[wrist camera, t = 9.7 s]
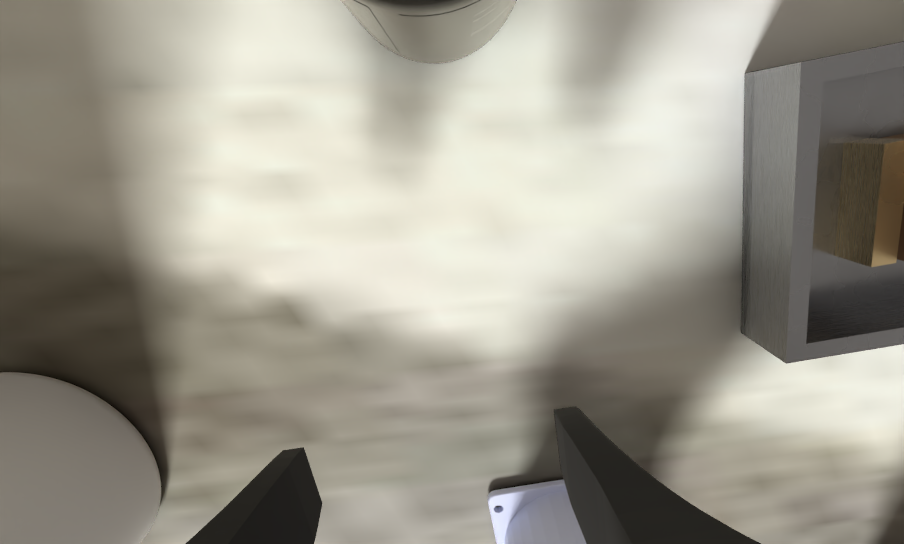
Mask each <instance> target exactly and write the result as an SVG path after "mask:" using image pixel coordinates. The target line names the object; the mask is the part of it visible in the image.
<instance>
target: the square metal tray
mask: <svg viewBox="0 0 904 544" xmlns="http://www.w3.org/2000/svg"><path fill="white" fill-rule="evenodd" d="M899 134H904V42H899V43H894V44H889V45H884V46H879V47H874V48H869V49H864V50H859V51H854V52H849V53H844V54H839V55H834V56H829V57H824V58H819V59H814V60H809V61H804V62H799V63H794V64H789V65H784V66H779V67H774V68H769V69H764V70H759V71H754V72H749V73H745V115H744V185H743V256H742V326H741V333H742V334H744V335H745V336H747V337H748V338H749V339H751V340H752V341H754V342H755V343H757V344H758V345H760V346H761V347H763V348H764V349H766V350H767V351H768V352H770V353H771V354H773V355H774V356H776V357H777V358H779V359H780V360H782V361H783V362H785V363H792V362H798V361H804V360H810V359H816V358H822V357H828V356H834V355H840V354H846V353H852V352H858V351H864V350H870V349H876V348H882V347H888V346H894V345H900V344H904V261H902V260H898V259H897V253H898V245H899V237H900V229H901V221H902V213H903V206H904V139H895V138H883V137H888V136H894V135H899Z"/></svg>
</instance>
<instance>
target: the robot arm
mask: <svg viewBox="0 0 904 544" xmlns="http://www.w3.org/2000/svg"><path fill="white" fill-rule="evenodd" d="M554 415H555V424H556V432H557V441H558V449H559V458H560V466H561V471H562V475H563V479H562V480H556V481H550V482H543V483H537V484H531V485H524V486H518V487H511V488H505V489H499V490H494V491H491V492H490V493H489V494H488V505H489V509H490V514H491V519H492V524H493V529H494V533H495V538H496V543H497V544H761V543H759V542H757V541H755V540H753V539H751V538H749V537H747V536H745V535H743V534H741V533H739V532H738V531H736V530H734V529H732V528H730V527H729V526H727V525H725V524H724V523H722V522H720V521H718V520H717V519H715V518H713V517H711V516H710V515H708V514H706V513H705V512H703V511H701V510H700V509H698V508H696V507H695V506H693V505H692V504H690V503H689V502H687V501H686V500H684V499H683V498H681V497H680V496H678V495H677V494H676V493H674V492H673V491H671V490H670V489H668V488H667V487H666V486H664V485H663V484H662V483H660V482H659V481H658V480H656V479H655V478H654V477H653V476H651V475H650V474H649V473H648V472H646V471H645V470H644V469H643V468H641V467H640V466H639V465H638V464H636V463H635V462H634V461H633V460H632V459H630V458H629V457H628V456H627V455H626V454H625V453H624V452H623V451H621V450H620V449H619V448H618V447H617V446H616V445H615V444H614V443H613V442H611V441H610V440H609V439H608V438H607V437H606V436H605V435H604V434H603V433H602V432H601V431H600V430H599V429H598V428H597V427H596V426H595V425H594V424H593V423H592V422H591V421H590V420H589V419H588V418H587V417H586V416H585V415H584V413H583V412H582V411H581V410H580V409H578V408H577V407H576V406H575V407H569V408H562V409H556V410H554ZM498 505H500V507H495V506H498ZM321 507H322V501H321V498H320V495H319V492H318V489H317V486H316V483H315V480H314V477H313V474H312V471H311V468H310V465H309V462H308V459H307V456H306V453H305V450H304V447H303V448H296V449H290V450H283V451H282V452H281V453H280V454H279V455H278V456H276V457H275V458H274V459H273V460H272V461H271V462H270V463H269V464H268V465H267V466H266V467H265V468H264V469H263V470H262V471H261V472H260V473H259V474H258V475H257V476H256V477H255V478H254V479H253V480H252V481H251V482H250V483H249V484H248V485H247V486H246V487H245V488H244V489H243V490H242V491H241V492H240V493H239V494H238V495H237V496H236V497H235V498H234V499H233V500H232V501H231V502H230V503H229V504H228V505H227V506H226V507H225V508H224V509H223V510H222V511H221V512H220V513H218V514H217V515H216V516H215V517H214V518H213V519H212V520H211V521H210V522H209V523H208V524H207V525H206V526H204V527H203V528H202V529H201V530H200V531H199V532H198V533H197V534H196V535H195V536H194V537H193V538H192V539H190V540H189V541H188V542H187V543H186V544H314V541H315V537H316V532H317V528H318V523H319V518H320V512H321Z"/></svg>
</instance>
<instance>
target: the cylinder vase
mask: <svg viewBox="0 0 904 544" xmlns="http://www.w3.org/2000/svg"><path fill="white" fill-rule="evenodd" d="M160 500H161V480H160V474H159V470H158V467H157V464H156V461H155V458H154V456H153V454H152V452H151V450H150V448H149V446H148V444H147V443H146V441H145V440H144V438H143V437H142V436H141V434H140V433H139V432H138V430H137V429H136V428H135V427H134V426H133V425H132V424H131V423H130V422H129V421H128V420H127V419H126V418H125V417H124V416H123V415H122V414H121V413H120V412H119V411H117V410H116V409H115V408H114V407H112V406H111V405H109V404H108V403H107V402H105V401H104V400H102V399H100V398H99V397H97V396H95V395H94V394H92V393H90V392H88V391H86V390H84V389H82V388H80V387H77V386H75V385H73V384H70V383H67V382H64V381H61V380H58V379H54V378H51V377H46V376H42V375H36V374H29V373H18V372H1V373H0V544H140V543H141V542H142V540H143V539H144V538H145V536H146V535H147V534H148V532H149V531H150V529H151V527H152V525H153V523H154V521H155V519H156V516H157V513H158V510H159V506H160Z"/></svg>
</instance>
